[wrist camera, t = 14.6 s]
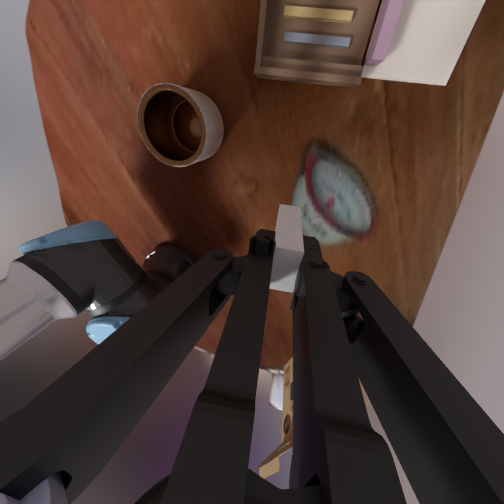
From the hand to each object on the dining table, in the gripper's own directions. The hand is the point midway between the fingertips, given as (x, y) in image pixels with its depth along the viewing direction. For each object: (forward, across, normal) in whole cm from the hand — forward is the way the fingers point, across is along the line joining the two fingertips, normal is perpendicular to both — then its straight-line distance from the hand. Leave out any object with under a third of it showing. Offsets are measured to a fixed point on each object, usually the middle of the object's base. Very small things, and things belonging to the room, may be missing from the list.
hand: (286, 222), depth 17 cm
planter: (+28, -18, +4) cm, 33 cm away
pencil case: (+27, 0, +18) cm, 33 cm away
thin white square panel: (+28, +14, +18) cm, 36 cm away
